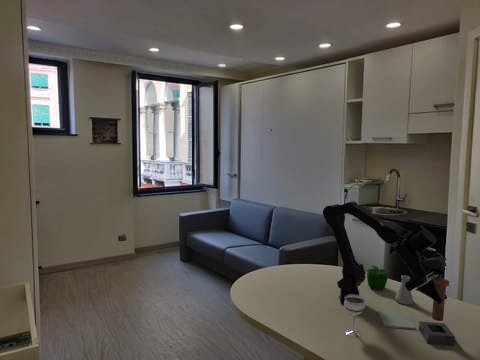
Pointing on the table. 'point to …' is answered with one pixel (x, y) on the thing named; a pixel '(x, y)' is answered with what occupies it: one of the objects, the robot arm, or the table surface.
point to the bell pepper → (377, 278)
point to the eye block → (436, 333)
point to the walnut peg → (441, 290)
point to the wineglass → (354, 310)
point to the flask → (404, 293)
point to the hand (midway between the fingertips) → (443, 300)
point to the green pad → (396, 320)
